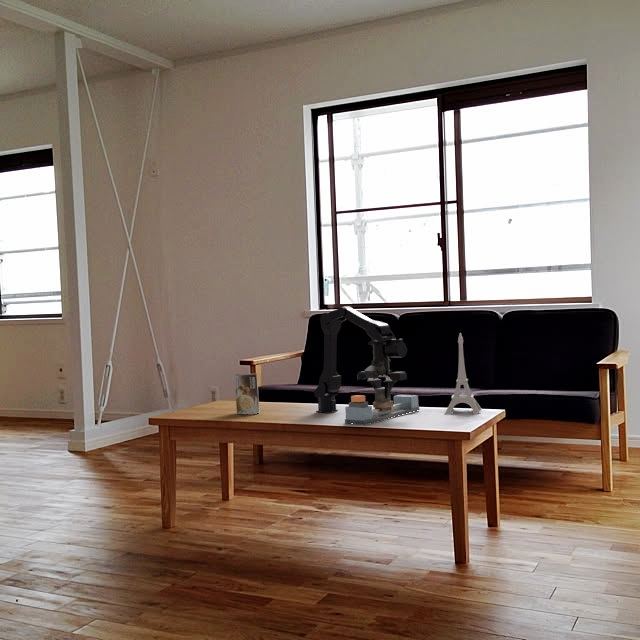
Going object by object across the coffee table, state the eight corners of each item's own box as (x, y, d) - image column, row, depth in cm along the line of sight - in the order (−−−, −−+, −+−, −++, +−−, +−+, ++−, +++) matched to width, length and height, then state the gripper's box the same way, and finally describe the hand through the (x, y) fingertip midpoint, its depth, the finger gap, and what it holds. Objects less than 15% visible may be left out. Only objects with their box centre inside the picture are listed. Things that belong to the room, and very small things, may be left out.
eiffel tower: (446, 409, 307) (444, 333, 307) (481, 409, 304) (478, 332, 304) (444, 414, 294) (441, 334, 294) (480, 414, 291) (477, 333, 291)
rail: (344, 423, 282) (344, 402, 282) (399, 409, 311) (399, 390, 311) (365, 424, 277) (364, 403, 277) (419, 410, 306) (418, 391, 306)
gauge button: (351, 401, 281) (351, 396, 281) (357, 400, 284) (356, 395, 284) (359, 402, 279) (359, 396, 279) (365, 401, 282) (365, 395, 282)
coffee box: (259, 412, 322) (258, 373, 322) (259, 414, 316) (257, 374, 315) (237, 413, 322) (235, 373, 322) (236, 415, 315) (234, 375, 315)
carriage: (373, 411, 293) (372, 388, 293) (382, 409, 298) (381, 387, 298) (384, 412, 290) (383, 389, 290) (393, 410, 295) (392, 387, 295)
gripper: (348, 358, 293) (349, 400, 293) (390, 359, 281) (392, 402, 282) (365, 356, 302) (366, 396, 302) (406, 356, 290) (408, 398, 291)
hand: (382, 398), depth 294 cm, fingers closed on carriage, 3 cm apart
